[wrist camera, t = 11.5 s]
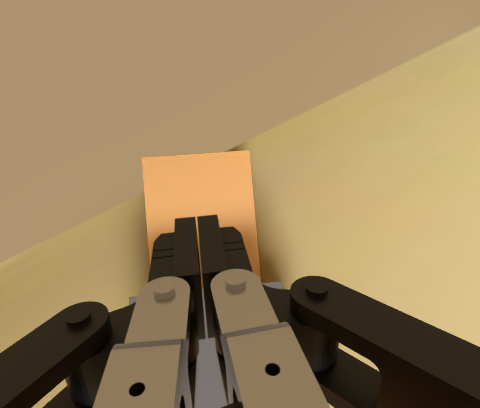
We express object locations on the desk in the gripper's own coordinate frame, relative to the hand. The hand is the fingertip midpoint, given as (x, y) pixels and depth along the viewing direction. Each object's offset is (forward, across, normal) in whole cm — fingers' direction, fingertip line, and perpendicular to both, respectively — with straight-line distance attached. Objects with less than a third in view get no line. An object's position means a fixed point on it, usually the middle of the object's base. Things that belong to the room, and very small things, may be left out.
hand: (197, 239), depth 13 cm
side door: (+19, 0, +17) cm, 26 cm away
